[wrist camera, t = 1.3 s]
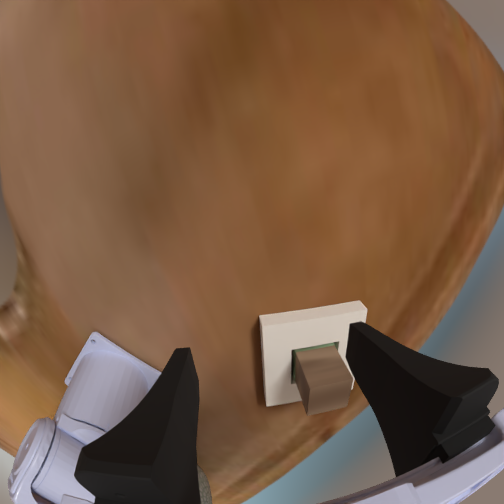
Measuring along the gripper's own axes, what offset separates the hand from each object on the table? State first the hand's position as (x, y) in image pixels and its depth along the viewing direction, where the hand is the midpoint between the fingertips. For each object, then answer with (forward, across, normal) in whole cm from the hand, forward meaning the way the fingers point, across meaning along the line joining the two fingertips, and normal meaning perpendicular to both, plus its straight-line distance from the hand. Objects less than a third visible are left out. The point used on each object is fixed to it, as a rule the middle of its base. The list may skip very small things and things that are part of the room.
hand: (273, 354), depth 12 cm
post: (+10, -5, +10) cm, 15 cm away
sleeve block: (+10, -5, +10) cm, 15 cm away
